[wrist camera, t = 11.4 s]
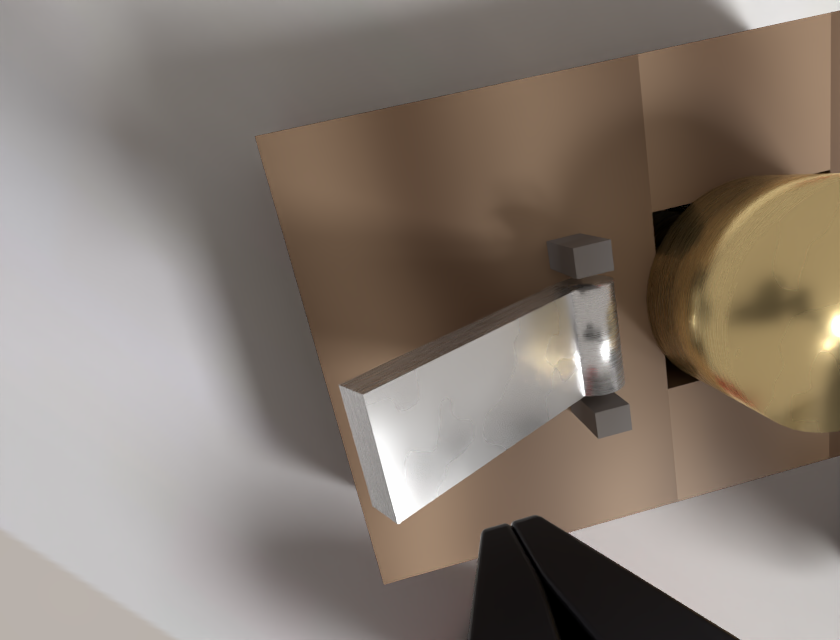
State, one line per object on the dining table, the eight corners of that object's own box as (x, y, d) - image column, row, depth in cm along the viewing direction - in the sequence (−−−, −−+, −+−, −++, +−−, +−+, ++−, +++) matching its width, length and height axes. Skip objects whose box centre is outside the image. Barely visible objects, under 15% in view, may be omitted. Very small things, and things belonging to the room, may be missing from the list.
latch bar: (575, 274, 15) (625, 276, 14) (588, 368, 16) (636, 377, 15) (338, 384, 11) (380, 401, 9) (372, 506, 12) (414, 537, 10)
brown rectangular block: (763, 44, 19) (980, -30, 12) (773, 388, 23) (943, 469, 16) (280, 149, 18) (240, 128, 11) (376, 496, 21) (387, 630, 15)
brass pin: (565, 198, 19) (722, 206, 11) (722, 162, 20) (983, 144, 12) (586, 355, 21) (735, 460, 13) (730, 318, 22) (962, 397, 13)
